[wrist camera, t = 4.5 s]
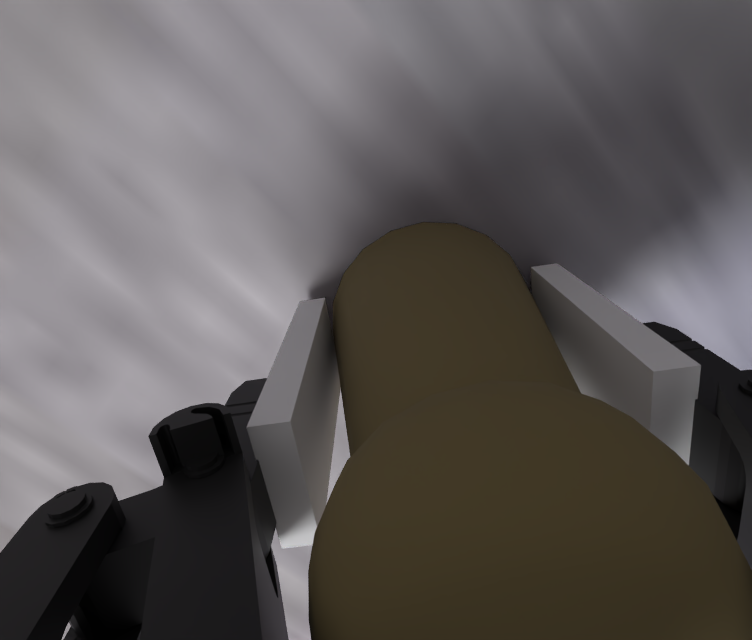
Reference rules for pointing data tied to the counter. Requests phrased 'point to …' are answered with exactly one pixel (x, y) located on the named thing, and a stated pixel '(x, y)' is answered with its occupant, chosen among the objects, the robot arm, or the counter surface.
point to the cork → (500, 474)
